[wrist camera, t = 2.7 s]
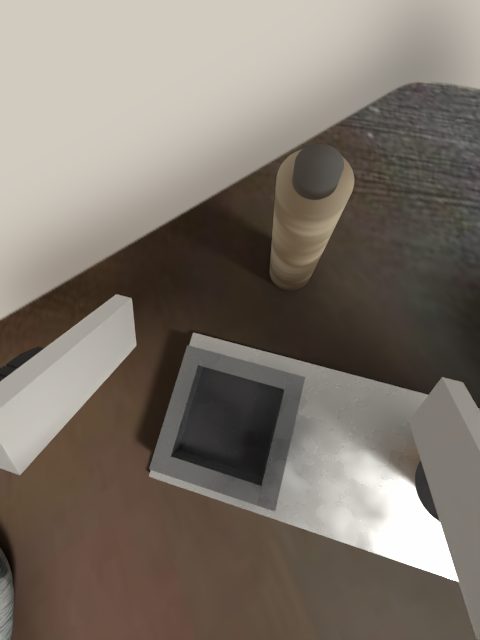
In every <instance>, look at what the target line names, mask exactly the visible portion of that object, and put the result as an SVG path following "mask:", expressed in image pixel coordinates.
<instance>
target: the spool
mask: <svg viewBox="0 0 480 640" xmlns="http://www.w3.org/2000/svg"><path fill="white" fill-rule="evenodd" d="M13 612H14V588H13V577H12V572H11V569H10V566H9V563H8V560H7V558H6V556H5V554H4V552H3V551H2V549H1V547H0V640H11V635H12V629H13Z"/></svg>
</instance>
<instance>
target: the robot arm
mask: <svg viewBox="0 0 480 640" xmlns="http://www.w3.org/2000/svg"><path fill="white" fill-rule="evenodd" d="M135 347H136V336H135V325H134V315H133V305H132V298H129V297H125V296H121V295H117V294H116V295H115V296H113V297H112V298H111V299H109V300H108V301H107V302H105V303H104V304H103V305H101V306H100V307H99V308H97V309H96V310H95V311H93V312H92V313H91V314H89V315H88V316H87V317H85V318H84V319H83V320H81V321H80V322H79V323H77V324H76V325H75V326H73V327H72V328H71V329H69V330H68V331H67V332H65V333H64V334H63V335H61V336H60V337H59V338H57V339H56V340H55V341H53V342H52V343H51V344H50V345H48V346H47V347H46V348H41V347H36V348H34V349H31V350H29V351H27V352H24V353H22V354H20V355H19V356H17V357H16V358H14V359H13V360H12V361H10V362H9V363H7V365H6V366H3V367H2V368H0V468H1V469H4V470H7V471H9V472H12V473H15V474H18V475H21V474H22V472H23V471H24V470H25V469H26V468H27V467H28V466H29V465H30V464H31V462H32V461H33V460H34V459H35V458H36V457H37V456H38V455H39V454H40V452H41V451H42V450H43V449H44V448H45V447H46V446H47V445H48V444H49V442H50V441H51V440H52V439H53V438H54V437H55V436H56V435H57V434H58V432H59V431H60V430H61V429H62V428H63V427H64V426H65V425H66V424H67V422H68V421H69V420H70V419H71V418H72V417H73V416H74V415H75V413H76V412H77V411H78V410H79V409H80V408H81V407H82V406H83V405H84V403H85V402H86V401H87V400H88V399H89V398H90V397H91V396H92V395H93V393H94V392H95V391H96V390H97V389H98V388H99V387H100V386H101V385H102V383H103V382H104V381H105V380H106V379H107V378H108V377H109V376H110V375H111V373H112V372H113V371H114V370H115V369H116V368H117V367H118V366H119V365H120V363H121V362H122V361H123V360H124V359H125V358H126V357H127V356H128V355H129V353H130V352H131V351H132V350H133V349H134V348H135ZM409 424H410V427H411V430H412V433H413V437H414V440H415V443H416V446H417V450H418V453H419V456H420V459H421V462H422V466H423V469H424V472H425V475H426V479H427V482H428V485H429V488H430V491H431V495H432V498H433V501H434V504H435V508H436V511H437V514H438V517H439V520H440V524H441V527H442V530H443V533H444V537H445V540H446V543H447V546H448V549H449V553H450V556H451V559H452V562H453V566H454V569H455V572H456V575H457V578H458V582H459V585H460V588H461V591H462V595H463V598H464V601H465V604H466V607H467V611H468V614H469V617H470V620H471V624H472V627H473V630H474V633H475V636H476V639H478V640H480V411H479V409H478V407H477V405H476V404H475V402H474V400H473V399H472V397H471V395H470V393H469V392H468V390H467V388H466V387H465V385H464V383H463V382H459V381H456V380H452V379H448V378H444V377H442V378H441V379H440V380H439V382H438V383H437V384H436V386H435V387H434V388H433V390H432V391H431V392H430V394H429V395H428V396H427V397H426V399H425V400H424V401H423V403H422V404H421V405H420V407H419V408H418V409H417V411H416V412H415V413H414V414H413V416H412V417H411V418H410V420H409Z"/></svg>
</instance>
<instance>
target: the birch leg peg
mask: <svg viewBox="0 0 480 640" xmlns="http://www.w3.org/2000/svg"><path fill="white" fill-rule="evenodd" d="M353 187H354V175H353V171H352V169H351V167H350V165H349V163H348V162H347V161H346V160H345V159H344V158H343V157H342V155H341V154H340V152H339V151H338V150H336V149H335V148H334V147H332V146H329V145H326V144H313V145H309V146H307V147H305V148H304V149H302V150H299V151H297V152H295V153H293V154H292V155H290V156H289V157H288V158H287V159H286V160H285V161H284V162H283V163H282V165H281V166H280V168H279V171H278V174H277V181H276V194H275V207H274V219H273V232H272V245H271V258H270V277H271V280H272V281H273V283H274V284H275V285H276V286H277V287H279V288H280V289H282V290H286V291H295V290H299V289H301V288H303V287H304V286H305V285H306V284H307V283H308V281H309V280H310V278H311V275H312V273H313V271H314V269H315V267H316V265H317V263H318V261H319V259H320V257H321V255H322V253H323V251H324V249H325V247H326V244H327V242H328V240H329V238H330V236H331V234H332V232H333V230H334V228H335V226H336V224H337V222H338V220H339V218H340V216H341V213H342V211H343V209H344V207H345V205H346V203H347V201H348V199H349V197H350V195H351V193H352V190H353Z"/></svg>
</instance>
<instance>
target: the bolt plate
mask: <svg viewBox="0 0 480 640" xmlns="http://www.w3.org/2000/svg"><path fill="white" fill-rule="evenodd" d="M427 396H428V395H427V394H424V393H420V392H416V391H412V390H408V389H405V388H401V387H397V386H393V385H390V384H386V383H382V382H378V381H375V380H371V379H367V378H363V377H359V376H356V375H352V374H348V373H344V372H341V371H337V370H333V369H329V368H326V367H322V366H318V365H314V364H310V363H307V362H303V361H299V360H295V359H292V358H288V357H284V356H280V355H277V354H273V353H269V352H265V351H261V350H258V349H254V348H250V347H246V346H243V345H239V344H235V343H231V342H228V341H224V340H220V339H216V338H212V337H209V336H205V335H201V334H197V333H194V332H193V335H192V338H191V341H190V344H189V345H187V348H186V351H185V354H184V358H183V361H182V364H181V367H180V371H179V374H178V377H177V380H176V383H175V387H174V390H173V393H172V396H171V400H170V403H169V406H168V409H167V413H166V416H165V419H164V422H163V426H162V429H161V432H160V435H159V439H158V442H157V445H156V448H155V451H154V455H153V458H152V461H151V464H150V468H149V469H150V470H151V471H150V474H149V477H152V478H155V479H158V480H161V481H164V482H167V483H170V484H173V485H175V486H178V487H181V488H184V489H187V490H190V491H193V492H196V493H199V494H202V495H205V496H208V497H211V498H214V499H217V500H220V501H223V502H226V503H228V504H231V505H234V506H237V507H240V508H243V509H246V510H249V511H252V512H255V513H258V514H261V515H264V516H267V517H270V518H273V519H276V520H279V521H281V522H284V523H287V524H290V525H293V526H296V527H299V528H302V529H305V530H308V531H311V532H314V533H317V534H320V535H323V536H326V537H329V538H331V539H334V540H337V541H340V542H343V543H346V544H349V545H352V546H355V547H358V548H361V549H364V550H367V551H370V552H373V553H376V554H379V555H382V556H384V557H387V558H390V559H393V560H396V561H399V562H402V563H405V564H408V565H411V566H414V567H417V568H420V569H423V570H426V571H429V572H432V573H435V574H437V575H440V576H443V577H446V578H449V579H452V580H455V581H458V578H457V575H456V572H455V569H454V566H453V562H452V559H451V556H450V553H449V549H448V546H447V543H446V540H445V537H444V533H443V530H442V527H441V524H440V520H439V517H438V514H437V511H436V508H435V504H434V501H433V498H432V495H431V491H430V488H429V485H428V482H427V479H426V475H425V472H424V469H423V466H422V462H421V459H420V456H419V453H418V450H417V446H416V443H415V440H414V437H413V433H412V430H411V427H410V424H409V420H410V418H411V417H412V416H413V414H414V413H415V412H416V411H417V409H418V408H419V407H420V405H421V404H422V403H423V401H424V400H425V399H426V397H427ZM478 409H479V411H480V408H478Z"/></svg>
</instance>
